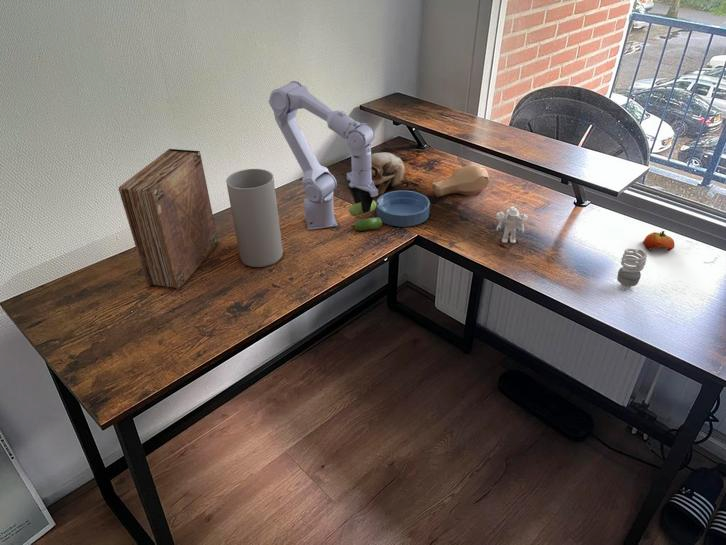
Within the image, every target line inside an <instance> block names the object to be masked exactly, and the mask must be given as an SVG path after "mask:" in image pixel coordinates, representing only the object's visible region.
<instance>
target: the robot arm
mask: <svg viewBox="0 0 726 545" xmlns="http://www.w3.org/2000/svg"><path fill="white" fill-rule="evenodd" d="M268 104H269V106H270V108H271V110H272V111H273V115H274V120H275V122H276V125H277V126H278V128H279V130H280V131H281V134H282V135H283V137H284V139H285V142H286V143H287V144H288V146H289V148H290V150H291V152H292V154H293V156H294V158H295V160H296V161H297V163H298V165H299V167H300V168H301V170H302V173H303V176H302V180H301V183H302V186H303V188H304V194H305V196H306V198H304V199H303V211H304V215H303V216H304V222H305V224H306V227H307V230H308V231H313V230H314V231H315V230H320V229H327V228H328V229H329V228H334V227H338V226H339V224H338V222H337V219H336V216H335V206H334V193H335V192H334V191H335V190H336V189H337V185H338V182H337V179H336V177H335V176H334V175H333V174H332V173H331V172H330V171H329V168H328V167H326V166H323V165H321V164H320V162H319V160H318V159H317V157H316V155H315V153H314V151H313V149H312V147H311V145H310V144H309V142H308V139H307V138H306V136H305V134H304V132H303V131H302V128H301V127H300V126H301V125H299V123H298V121H297V119H296V116H297V114H298V110H302V109H304V110H306V111H307V112H309V113H311V114H312V115H315V116H316V117H318V118H320V119H321V120H323V121H325V122H326V124H327V128H328V129H329V130H331V131H332V132H333V133H336V134H337V135H338V136H339V137H341V138H343V139H344V140H345V141H346V144H347V146H348V147H349V149H350V150H349V151H350V157H351V158H350V160H351V171H350V172H347V173H346V180H348V181H350V182H349V183H348V185H347V188H348V189H349V192H350V194H351V196H352V199H353V202H354V204H357V203H360V202H361V205H362V211H363V213H365V214H367V213H366V212H368V213H370V212H369V211H370V208H371V204H372V201H374V199H375V197H377V196H378V189H376V187H375V185H374V183H373V181H372V174H371V154H372V143H373V141H374V140H375V131H374V129H373V128H372V126H371V125H370V124H369V123H367V122H362V123H361V122H359V121H358V120H355V119H353V118H352V117H350V116H348V115H347V114H346V112H345V111H344V110H339V109H337V110H333V109H331V108H330V107H329V106H328V105H326V104H325V103H324V102H322V101H321V100H320V99H319V98H317V97H316V96H314V95H313V93H310V91H309V89H308V87H307V86H306V85H304V84H303V83H301V82H300V81H297V80H292V81H290V82H288V83H287V84H284V85H282V86H280V87H278V88H275V89H273V90H271V92H270V95H269V99H268Z"/></svg>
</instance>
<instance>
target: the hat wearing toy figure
mask: <svg viewBox="0 0 726 545" xmlns="http://www.w3.org/2000/svg"><path fill="white" fill-rule="evenodd" d="M523 207H524V204H520V205H516V207H515V206H511V207H509V208H508V209H507V210H506V214H505V212H504V211H502V210H501V211H498V212H497V213H496V215H495V216H496V217H495V219H497V220H498V224H497V225H496V228H495V229H496V231H497V232H499V229H500V230H502V225H503V224H504V225H505V227H504V230H503V235H502V238H501V242H502V244H507V243H508V240H509V242H510V244H516V242H517V240H516V234H517V233H516V232H517V225H518V226H519V229H518V232H520V231H521V234H524V233H525V226H524V224H525V223H527V222H528V214H527V213H520V211H519V210H520V209H522V208H523ZM509 233H510V237H509Z"/></svg>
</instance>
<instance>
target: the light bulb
mask: <svg viewBox="0 0 726 545" xmlns="http://www.w3.org/2000/svg"><path fill="white" fill-rule="evenodd" d="M647 258H648V254H647V252H646V251H645V250H643V249H641V248H625V250H624V253H623V254H622V257H621V261H620V265H621V266H622V267H620V268H619V269H618V271H617V277H616V280H617V282H618V283H619V284H620V287H621V288H622V289H624V290H629V289H631V288H632V287H634V286H635V287H636V286H637V285H638V284H639V282H640V279H641V276H642V273H641V272H642V271H643V270H644V268H645V266H646V262H647Z"/></svg>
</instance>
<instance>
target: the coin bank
mask: <svg viewBox="0 0 726 545" xmlns="http://www.w3.org/2000/svg"><path fill="white" fill-rule="evenodd" d="M405 168H406V167H405V164H404V162H403V160H402V159H401V157H399V156H397V154H394V153H391V152H375V153H371V174H372V181H373V183H374V185H375V187H376V189H378V196H379V197H380V196H381V195H383V194H385V192H386V189H394V188H397V186H398V185H400V184H401V182H402V180H403V179H404V176H405V171H406V169H405Z"/></svg>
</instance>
